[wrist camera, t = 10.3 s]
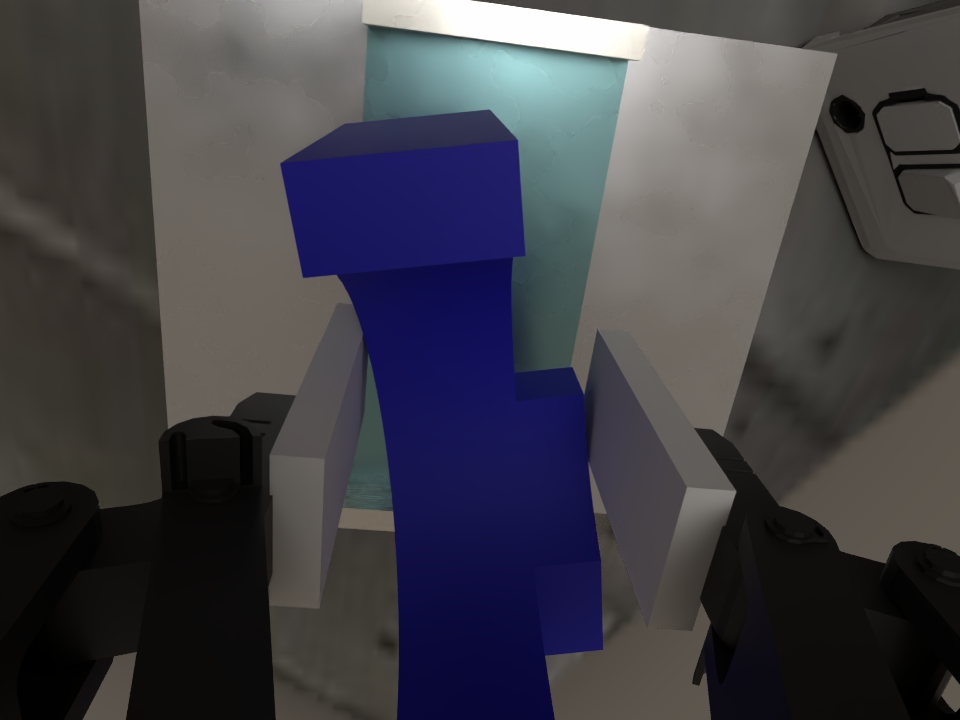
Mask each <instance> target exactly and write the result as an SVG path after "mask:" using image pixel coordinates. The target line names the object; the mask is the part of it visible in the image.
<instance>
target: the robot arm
mask: <svg viewBox="0 0 960 720" xmlns="http://www.w3.org/2000/svg"><path fill="white" fill-rule="evenodd" d="M367 367H368V350H367V346H366V342H365V339H364V335H363V332H362V329H361V326H360V322H359V319H358V317H357V314H356V311H355V309H354V306H353V304H344V303H337V306H336V308H335V310H334V312H333V314H332V317H331V319H330V321H329V323H328V326H327V328H326V330H325V332H324V334H323V337H322V339H321V341H320V343H319V346H318V348H317V350H316V352H315V355H314V357H313V359H312V361H311V363H310V366H309V368H308V370H307V372H306V375H305V377H304V379H303V381H302V384H301V386H300V388H299V390H298V392H297V395H285V394H273V393H262V392H256V393H254V394H252V395H251V396H249V397H248V398H246V399H244V400H243V401H241V402H239V403H238V404H237V405H236V407H235V409H234V410H233V412H232V414H231V415H230V416H206V417H198V418H192V419H189V420H186V421H183V422H180V423H177V424H176V425H174V426H172V427H171V428H169V429H168V430H166V431H165V432H164V433H163V435H162V437H161V438H160V440H159V453H160V466H161V480H162V498H161V499H158V500H155V501H152V502H148V503H143V504H137V505H131V506H123V507H114V508H106V509H100V508H99V501H98V499H97V496H96V494H95V492H94V491H93V490H91V489H89V488H88V487H86V486H84V485H82V484H76V483H71V482H44V483H37V484H35V485H34V484H32V485H29V486H25V487H22V488H19V489H17V490H15V491H12V492H10V493H8V494H5V495H3V496H1V497H0V720H83V718H84V716H85V714H86V712H87V710H88V708H89V706H90V704H91V702H92V700H93V699H94V697H95V694H96V693H97V691H98V689H99V687H100V685H101V683H102V681H103V679H104V677H105V675H106V673H107V672H108V670H109V668H110V666H111V664H112V662H113V658H114V656H118V655H123V654H128V653H133V652H137V655H136V660H135V667H134V673H133V679H132V685H131V692H130V698H129V704H128V710H127V716H126V720H276V718H275V701H274V683H273V666H272V648H271V631H270V614H269V596H268V586H269V583H270V606H281V607H298V608H315V609H319V607H320V603H321V599H322V594H323V590H324V586H325V581H326V577H327V573H328V568H329V564H330V560H331V555H332V551H333V547H334V543H335V538H336V534H337V530H338V525H339V521H340V517H341V512H342V508H343V504H344V499H345V495H346V491H347V486H348V482H349V478H350V473H351V469H352V465H353V460H354V456H355V452H356V448H357V443H358V439H359V435H360V430H361V426H362V422H363V417H364V413H365V400H366V384H367ZM584 407H585V426H586V440H587V453H588V462H589V465H590V468H591V471H592V473H593V476H594V479H595V482H596V485H597V488H598V490H599V493H600V496H601V499H602V502H603V504H604V507H605V510H606V513H607V516H608V519H609V521H610V524H611V527H612V530H613V533H614V536H615V538H616V541H617V544H618V547H619V550H620V552H621V555H622V558H623V561H624V564H625V567H626V569H627V572H628V575H629V578H630V581H631V584H632V586H633V589H634V592H635V595H636V598H637V601H638V603H639V606H640V609H641V612H642V615H643V617H644V620H645V623H646V626H647V628H657V629H672V630H689V631H692V630H693V626H694V623H695V620H696V617H697V614H698V610H699V607H700V604H701V602H702V604H703V607H704V609H705V611H706V613H707V615H708V617H709V619H710V621H711V624H710V627H709V630H708V633H707V636H706V639H705V642H704V645H703V648H702V651H701V654H700V657H699V660H698V663H697V666H696V669H695V672H694V677H693V682H692V684H695V685H699V684H700V682H701V679H702V676H703V674H704V673H706V674H707V684H708V694H709V703H710V711H711V712H710V713H711V720H960V708H959V710H958V711H957V712H956V713H955V712H954V711H953V710H952V709H951V708H950V707H949V706H948V704H947V703H946V702H945V700H944V699H943V698H942V696H941V695H942V693H943V692H944V689H945V688H946V686H947V684H948V682H949V680H950V678H951V676H952V675H953V677H955V679H956V680H957V682H958V683H959V684H960V556H958V555H957V554H956V553H955V552H953V551H951V550H948V549H946V548H941V547H940V546H937V545H934V544H927V543H921V542H917V541H908V542H900V543H898V544H897V545H895V546H894V547H893V548H892V551H891V553H890V555H889V557H888V560H887V562H886V564H885V563H881V562H877V561H873V560H870V559H866V558H863V557H859V556H855V555H851V554H848V553H845V552H841V551H840V550H839V548H838V546H837V543H836V541H835V539H834V538H833V536H832V535H831V534H830V532H829V531H828V530H827V529H826V528H825V527H823V526H822V525H821V524H819V523H818V522H817V521H816V520H814V519H812V518H810V517H808V516H806V515H804V514H802V513H800V512H798V511H794V510H791V509H788V508H785V507H780V506H779V505H778V504H777V502H776V501H775V500H774V498H773V497H772V496H771V494H770V493H769V492H768V490H767V489H766V488H765V486H764V485H763V484H762V482H761V481H760V480H759V478H758V477H757V476H756V474H753V470H752V469H751V468H750V466H749V465H748V464H747V462H746V461H744V458H743V457H742V456H741V454H740V453H739V452H738V450H737V449H736V448H735V446H734V445H733V444H732V443H731V442H730V441H728V440H727V439H725V438H724V437H723V436H721V435H720V434H718V433H717V432H716V431H714V430H713V429H702V428H693V426H692V425H691V423H690V422H689V420H688V419H687V417H686V416H685V414H684V413H683V411H682V410H681V408H680V407H679V405H678V404H677V402H676V401H675V399H674V398H673V396H672V395H671V393H670V392H669V390H668V389H667V388H666V386H665V385H664V383H663V382H662V380H661V379H660V377H659V376H658V374H657V373H656V371H655V370H654V368H653V367H652V365H651V364H650V362H649V361H648V359H647V358H646V356H645V355H644V353H643V352H642V350H641V349H640V347H639V346H638V345H637V343H636V342H635V340H634V339H633V337H632V336H631V334H630V333H629V331H618V330H608V329H598V328H597V333H596V338H595V343H594V348H593V353H592V358H591V363H590V368H589V373H588V378H587V383H586V388H585V393H584Z"/></svg>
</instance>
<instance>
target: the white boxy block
mask: <svg viewBox="0 0 960 720" xmlns="http://www.w3.org/2000/svg"><path fill="white" fill-rule="evenodd" d="M139 10H140V24H141V39H142V54H143V68H144V83H145V97H146V112H147V127H148V141H149V156H150V171H151V185H152V200H153V215H154V229H155V244H156V258H157V273H158V288H159V302H160V317H161V332H162V346H163V361H164V376H165V390H166V405H167V420H168V429H169V428H171V427H172V426H174V425H176V424H177V423H180V422H183V421H186V420H189V419H192V418H198V417H206V416H230V415H231V414H232V412H233V410H234V409H235V407H236V405H237V404H238V403H239V402H241V401H243V400H244V399H246V398H248V397H249V396H251V395H252V394H254V393H256V392H262V393H273V394H285V395H297V392H298V390H299V388H300V386H301V384H302V381H303V379H304V377H305V375H306V372H307V370H308V368H309V366H310V363H311V361H312V359H313V357H314V355H315V352H316V350H317V348H318V346H319V343H320V341H321V339H322V337H323V334H324V332H325V330H326V328H327V326H328V323H329V321H330V319H331V317H332V314H333V312H334V310H335V308H336V306H337V303H344V304H352V301H351V299H350V297H349V295H348V293H347V291H346V289H345V287H344V285H343V283H342V282H341V281H340V279H339V278H338V276H337V275H330V276H320V277H310V278H303V276H302V271H301V266H300V261H299V256H298V251H297V246H296V241H295V236H294V231H293V226H292V221H291V216H290V211H289V206H288V201H287V196H286V191H285V186H284V181H283V176H282V171H281V166H280V163H281V162H283V161H284V160H286V159H288V158H289V157H291V156H293V155H294V154H296V153H298V152H299V151H301V150H302V149H304V148H306V147H307V146H309V145H311V144H312V143H314V142H315V141H317V140H319V139H320V138H322V137H324V136H325V135H327V134H329V133H330V132H332V131H333V130H335V129H337V128H338V127H340V126H342V125H343V124H346V123H357V122H367V121H377V120H387V119H397V118H408V117H418V116H428V115H438V114H448V113H459V112H469V111H479V110H489V109H490V110H491V111H492V112H493V113H494V114H495V116H496V117H497V118H498V119H499V120H500V121H501V122H502V123H503V124H504V125H505V126H506V127H507V129H508V130H509V131H510V132H511V133H512V134H513V135H514V136H515V137H516V138H517V139H518V148H519V163H520V179H521V194H522V210H523V226H524V241H525V256H521V257H513V264H512V286H511V305H512V337H513V357H514V373H517V372H527V371H537V370H547V369H557V368H567V367H573V369H574V372H575V374H576V376H577V379H578V381H579V384H580V386H581V389H582V391H583V393H585V388H586V383H587V378H588V373H589V368H590V363H591V358H592V353H593V348H594V343H595V338H596V333H597V328H598V329H608V330H618V331H629V333H630V334H631V336H632V337H633V339H634V340H635V342H636V343H637V345H638V346H639V347H640V349H641V350H642V352H643V353H644V355H645V356H646V358H647V359H648V361H649V362H650V364H651V365H652V367H653V368H654V370H655V371H656V373H657V374H658V376H659V377H660V379H661V380H662V382H663V383H664V385H665V386H666V388H667V389H668V390H669V392H670V393H671V395H672V396H673V398H674V399H675V401H676V402H677V404H678V405H679V407H680V408H681V410H682V411H683V413H684V414H685V416H686V417H687V419H688V420H689V422H690V423H691V425H692V426H693V428H702V429H713V430H714V431H716V432H717V433H718V434H720V435H721V436H723V435H724V432H725V428H726V425H727V422H728V418H729V415H730V412H731V408H732V405H733V402H734V398H735V395H736V392H737V388H738V385H739V382H740V378H741V375H742V372H743V368H744V365H745V362H746V358H747V355H748V352H749V348H750V345H751V342H752V338H753V335H754V332H755V328H756V325H757V322H758V318H759V315H760V312H761V308H762V305H763V302H764V298H765V295H766V292H767V288H768V285H769V281H770V278H771V275H772V271H773V268H774V265H775V261H776V258H777V255H778V251H779V248H780V245H781V241H782V238H783V235H784V231H785V228H786V225H787V221H788V218H789V215H790V211H791V208H792V205H793V201H794V198H795V195H796V191H797V188H798V185H799V181H800V178H801V175H802V171H803V168H804V165H805V161H806V158H807V155H808V151H809V148H810V145H811V141H812V138H813V135H814V131H815V128H816V125H817V121H818V118H819V115H820V111H821V108H822V104H823V101H824V98H825V94H826V91H827V88H828V84H829V81H830V78H831V74H832V71H833V68H834V64H835V61H836V58H837V54H836V53H829V52H822V51H814V50H807V49H800V48H793V47H786V46H779V45H771V44H764V43H757V42H750V41H743V40H736V39H728V38H721V37H714V36H707V35H700V34H692V33H685V32H678V31H671V30H664V29H657V28H649V26H648V25H641V24H634V23H627V22H620V21H612V20H605V19H598V18H591V17H584V16H577V15H569V14H562V13H555V12H548V11H541V10H534V9H527V8H519V7H512V6H505V5H498V4H491V3H484V2H476V1H469V0H139ZM588 464H589V462H588ZM589 474H590V484H591V493H592V501H593V510H594V513H604V514H607V513H606V510H605V507H604V504H603V502H602V499H601V496H600V493H599V490H598V488H597V485H596V482H595V479H594V476H593V473H592V471H591V468H590V465H589ZM338 528H350V529H365V530H379V531H394V532H395V529H394V516H393V505H392V494H391V485H390V476H389V467H388V459H387V451H386V444H385V437H384V430H383V424H382V418H381V412H380V406H379V400H378V395H377V390H376V385H375V380H374V375H373V370H372V366H371V362H370V358H369V354H368V367H367V384H366V400H365V413H364V417H363V422H362V426H361V430H360V435H359V439H358V443H357V448H356V452H355V456H354V460H353V465H352V469H351V473H350V478H349V482H348V486H347V491H346V495H345V499H344V504H343V508H342V512H341V517H340V521H339V525H338Z"/></svg>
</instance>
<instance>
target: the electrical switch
mask: <svg viewBox="0 0 960 720" xmlns="http://www.w3.org/2000/svg"><path fill="white" fill-rule="evenodd" d="M802 49H807V50H814V51H822V52H829V53H836V54H837V58H836V61H835V64H834V68H833V71H832V74H831V78H830V81H829V84H828V88H827V91H826V94H825V98H824V101H823V104H822V108H821V111H820V115H819V118H818V121H817V125H816V129H817V132H818V135H819V137H820V140H821V142H822V145H823V147H824V150H825V153H826V155H827V158H828V160H829V163H830V165H831V168H832V171H833V173H834V176H835V178H836V181H837V183H838V186H839V189H840V191H841V194H842V196H843V199H844V201H845V204H846V207H847V209H848V212H849V214H850V217H851V220H852V222H853V225H854V227H855V230H856V232H857V235H858V238H859V240H860V243H861V245H862V247H863V248H864V250H865V251H866V252H868V253H869V254H871V255H872V256H873V257H875V258H876V259H883V260H891V261H899V262H907V263H914V264H922V265H929V266H937V267H944V268H952V269H959V270H960V0H942V1H939V2H935V3H931V4H927V5H924V6H920V7H916V8H912V9H909V10H905V11H901V12H897V13H894V14H890V15H886V16H884V17H883V18H882V19H880V20H879V21H878V22H876V23H875V24H874V25H872V26H871V27H870V28H868V29H867V27H866V28H865V29H863V30H860V31H856V32H852V33H848V34H844V35H840V34H839V31H838V32H834V33H830V34H826V35H822V36H818V37H814V38H813V39H812V40H811V41H810V42H809V43H808V44H806V45H805V46H804V47H803V48H802Z"/></svg>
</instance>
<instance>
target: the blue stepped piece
mask: <svg viewBox="0 0 960 720" xmlns="http://www.w3.org/2000/svg"><path fill="white" fill-rule="evenodd" d="M280 166H281V171H282V176H283V181H284V186H285V191H286V196H287V201H288V206H289V211H290V216H291V221H292V226H293V231H294V236H295V241H296V246H297V251H298V256H299V261H300V266H301V271H302V276H303V278H310V277H320V276H330V275H337V276H338V278H339V279H340V281H341V282H342V283H343V285H344V287H345V289H346V291H347V293H348V295H349V297H350V299H351V301H352V304H353V306H354V309H355V311H356V314H357V317H358V319H359V322H360V326H361V329H362V332H363V335H364V339H365V342H366V346H367V350H368V354H369V358H370V362H371V366H372V370H373V375H374V380H375V385H376V390H377V395H378V400H379V406H380V412H381V418H382V424H383V430H384V437H385V444H386V451H387V459H388V467H389V476H390V485H391V494H392V505H393V516H394V529H395V543H396V559H397V579H398V610H399V681H398V709H397V720H555V719H554V712H553V706H552V700H551V693H550V687H549V680H548V673H547V667H546V660H545V656H546V655H555V654H565V653H575V652H584V651H594V650H603V632H602V589H601V558H600V552H599V545H598V539H597V532H596V524H595V517H594V510H593V501H592V493H591V484H590V474H589V464H588V453H587V440H586V426H585V407H584V393H583V391H582V389H581V386H580V384H579V381H578V379H577V376H576V374H575V372H574V369H573V367H567V368H557V369H547V370H537V371H527V372H517V373H514V357H513V337H512V305H511V286H512V264H513V257H521V256H525V241H524V226H523V210H522V194H521V179H520V163H519V148H518V139H517V138H516V137H515V136H514V135H513V134H512V133H511V132H510V131H509V130H508V129H507V127H506V126H505V125H504V124H503V123H502V122H501V121H500V120H499V119H498V118H497V117H496V116H495V114H494V113H493V112H492V111H491V110H490V109H489V110H479V111H469V112H459V113H448V114H438V115H428V116H418V117H408V118H397V119H387V120H377V121H367V122H357V123H346V124H343V125H342V126H340V127H338V128H337V129H335V130H333V131H332V132H330V133H329V134H327V135H325V136H324V137H322V138H320V139H319V140H317V141H315V142H314V143H312V144H311V145H309V146H307V147H306V148H304V149H302V150H301V151H299V152H298V153H296V154H294V155H293V156H291V157H289V158H288V159H286V160H284V161H283V162H281V163H280Z"/></svg>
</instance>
